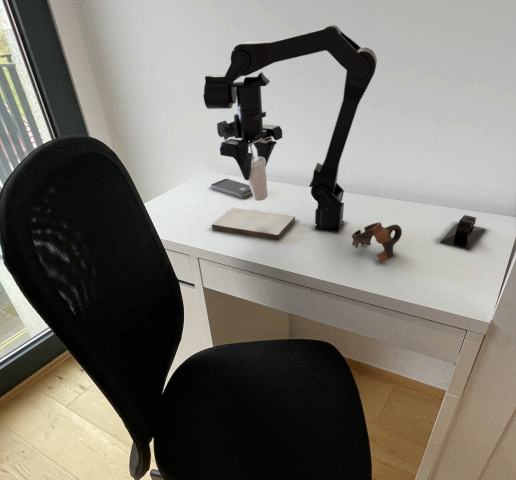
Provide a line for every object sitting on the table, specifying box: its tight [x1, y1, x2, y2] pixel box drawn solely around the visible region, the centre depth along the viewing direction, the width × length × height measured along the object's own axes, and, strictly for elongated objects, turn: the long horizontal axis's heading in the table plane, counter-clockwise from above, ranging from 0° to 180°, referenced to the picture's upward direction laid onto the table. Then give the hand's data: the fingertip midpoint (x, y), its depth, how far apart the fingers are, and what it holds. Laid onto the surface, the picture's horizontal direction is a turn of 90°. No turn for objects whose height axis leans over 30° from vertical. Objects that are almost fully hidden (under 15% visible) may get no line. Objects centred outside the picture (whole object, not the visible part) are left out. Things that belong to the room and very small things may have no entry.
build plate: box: [439, 214, 486, 251], centre depth 100 cm, size 12×7×5 cm, turn 141°
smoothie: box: [247, 145, 268, 202], centre depth 105 cm, size 6×6×14 cm
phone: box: [210, 178, 253, 199], centre depth 134 cm, size 8×1×16 cm
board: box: [211, 207, 296, 241], centre depth 113 cm, size 20×12×2 cm, turn 65°
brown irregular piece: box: [351, 222, 403, 264], centre depth 96 cm, size 12×10×8 cm
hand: (254, 175), depth 106 cm, fingers closed on smoothie, 6 cm apart
